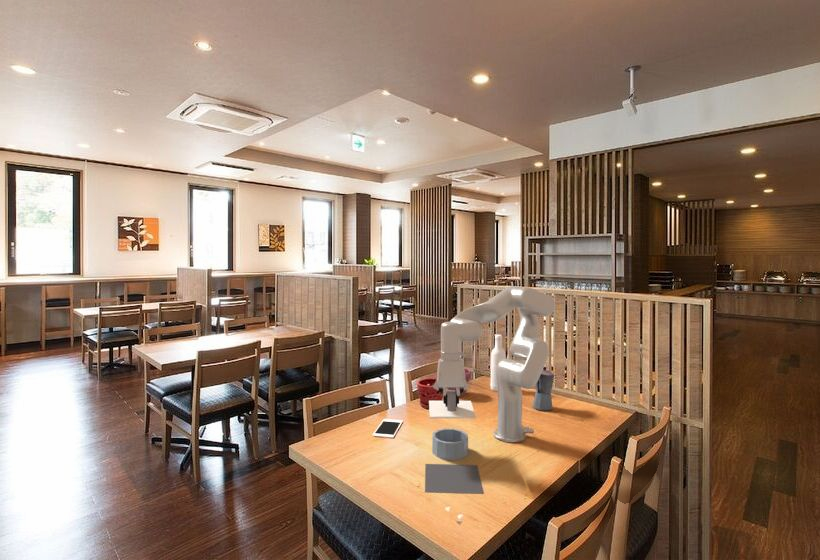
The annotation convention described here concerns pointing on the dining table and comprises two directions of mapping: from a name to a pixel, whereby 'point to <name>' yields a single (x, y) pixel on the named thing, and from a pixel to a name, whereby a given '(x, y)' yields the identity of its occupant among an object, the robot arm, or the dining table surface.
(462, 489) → the mat
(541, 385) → the moka pot
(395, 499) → the dining table surface
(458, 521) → the acanthus leaf ornament
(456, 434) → the bowl
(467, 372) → the plant pot
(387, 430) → the cell phone
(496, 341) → the bottle
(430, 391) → the plant pot
